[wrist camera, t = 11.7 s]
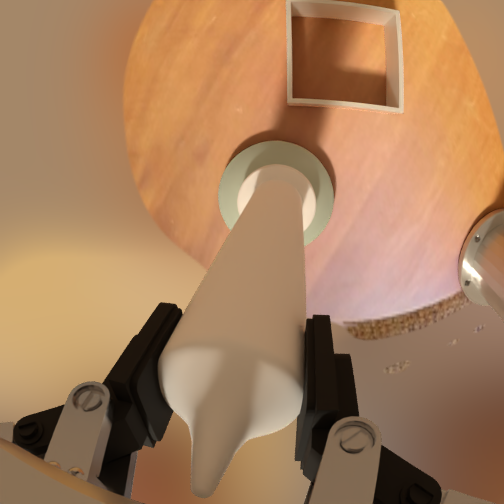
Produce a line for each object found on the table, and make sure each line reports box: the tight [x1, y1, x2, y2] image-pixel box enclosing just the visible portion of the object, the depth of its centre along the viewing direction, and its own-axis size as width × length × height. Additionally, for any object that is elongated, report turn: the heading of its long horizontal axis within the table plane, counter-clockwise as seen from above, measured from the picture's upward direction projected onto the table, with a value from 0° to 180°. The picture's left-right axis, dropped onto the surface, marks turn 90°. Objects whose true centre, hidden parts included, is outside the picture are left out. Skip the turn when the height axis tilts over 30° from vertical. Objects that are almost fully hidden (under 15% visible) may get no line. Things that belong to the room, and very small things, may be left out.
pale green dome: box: [218, 140, 334, 246], centre depth 29 cm, size 11×11×1 cm
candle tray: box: [286, 0, 404, 114], centre depth 22 cm, size 10×10×4 cm
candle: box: [158, 164, 316, 498], centre depth 17 cm, size 7×7×25 cm
